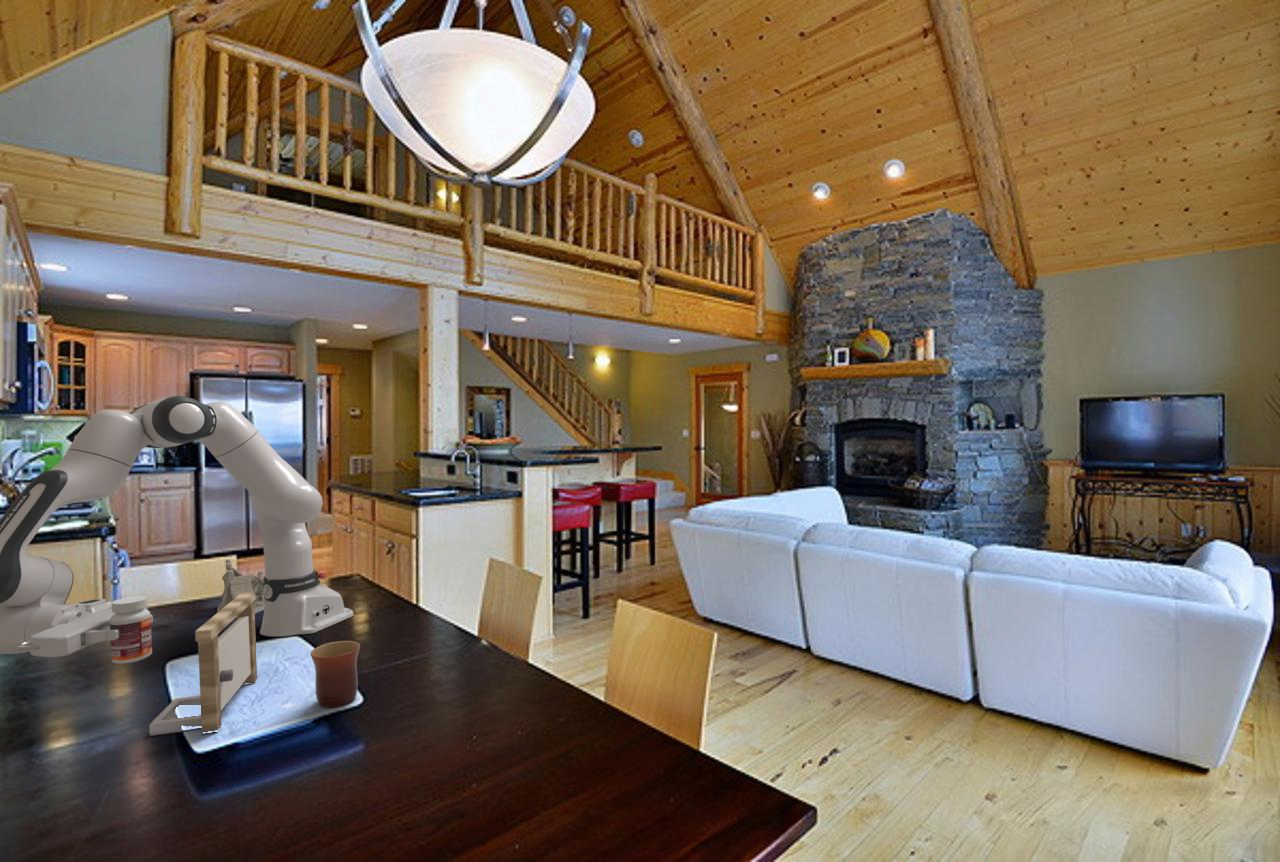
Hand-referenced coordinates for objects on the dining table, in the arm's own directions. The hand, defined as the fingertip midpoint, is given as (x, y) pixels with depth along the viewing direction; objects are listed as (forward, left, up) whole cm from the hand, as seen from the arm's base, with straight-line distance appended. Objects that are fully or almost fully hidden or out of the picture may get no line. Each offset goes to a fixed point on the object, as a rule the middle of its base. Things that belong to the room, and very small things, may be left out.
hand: (135, 626), depth 121 cm
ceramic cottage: (-46, -46, -17) cm, 67 cm away
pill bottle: (0, -1, -6) cm, 6 cm away
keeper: (-3, +14, -16) cm, 21 cm away
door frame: (-9, +14, -16) cm, 23 cm away
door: (-10, +15, -14) cm, 22 cm away
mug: (-21, +30, -16) cm, 41 cm away
